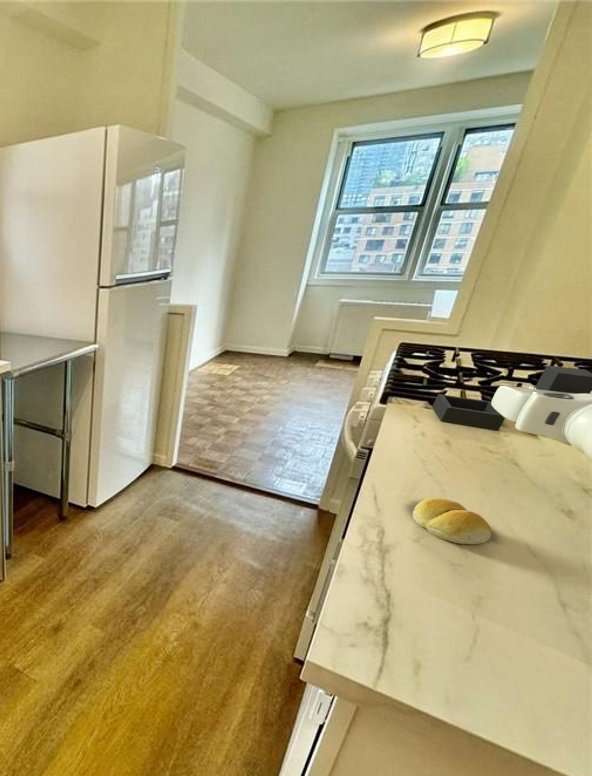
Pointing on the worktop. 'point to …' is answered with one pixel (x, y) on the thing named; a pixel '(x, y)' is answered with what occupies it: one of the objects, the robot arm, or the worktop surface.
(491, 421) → the black open rectangular box
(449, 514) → the bread roll
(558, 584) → the worktop surface
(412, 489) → the worktop surface
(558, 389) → the dark grey block
